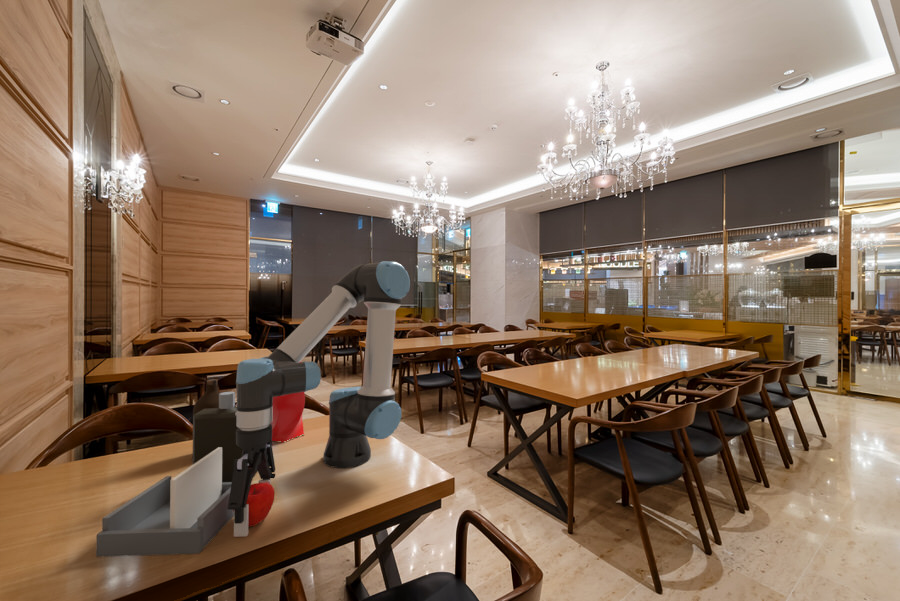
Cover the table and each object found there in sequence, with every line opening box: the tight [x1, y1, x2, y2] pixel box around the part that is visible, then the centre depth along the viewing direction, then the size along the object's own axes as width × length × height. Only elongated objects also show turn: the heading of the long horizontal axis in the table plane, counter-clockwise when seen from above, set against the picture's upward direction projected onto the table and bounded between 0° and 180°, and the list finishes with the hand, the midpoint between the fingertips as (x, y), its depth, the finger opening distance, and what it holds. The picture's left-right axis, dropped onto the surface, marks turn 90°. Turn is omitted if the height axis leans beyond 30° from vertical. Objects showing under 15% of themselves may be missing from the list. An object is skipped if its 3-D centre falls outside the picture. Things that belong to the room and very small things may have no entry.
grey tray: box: [95, 475, 234, 557], centre depth 85 cm, size 20×21×7 cm
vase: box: [271, 361, 306, 443], centre depth 142 cm, size 15×14×28 cm
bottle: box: [191, 391, 258, 482], centre depth 107 cm, size 8×16×25 cm, turn 100°
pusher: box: [170, 447, 222, 529], centre depth 85 cm, size 6×17×13 cm, turn 3°
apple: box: [233, 482, 276, 528], centre depth 86 cm, size 9×9×8 cm
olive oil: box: [192, 378, 221, 417], centre depth 125 cm, size 11×11×25 cm
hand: (253, 520), depth 86 cm, fingers open, 11 cm apart
